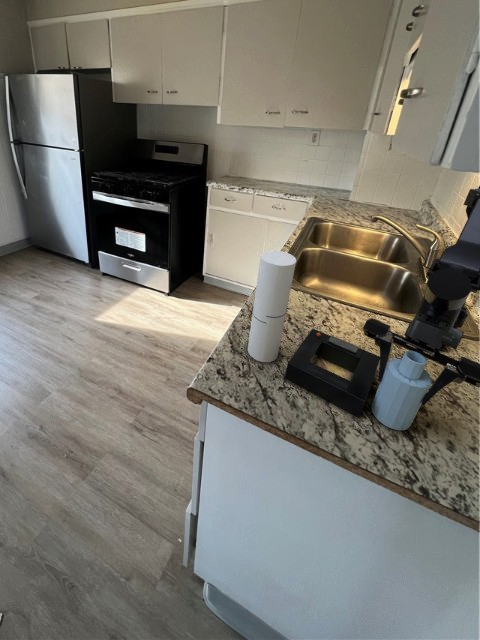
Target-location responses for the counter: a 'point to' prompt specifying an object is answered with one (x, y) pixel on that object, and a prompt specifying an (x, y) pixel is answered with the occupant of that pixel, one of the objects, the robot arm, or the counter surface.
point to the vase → (401, 391)
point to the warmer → (328, 383)
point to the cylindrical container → (270, 304)
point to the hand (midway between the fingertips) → (399, 392)
